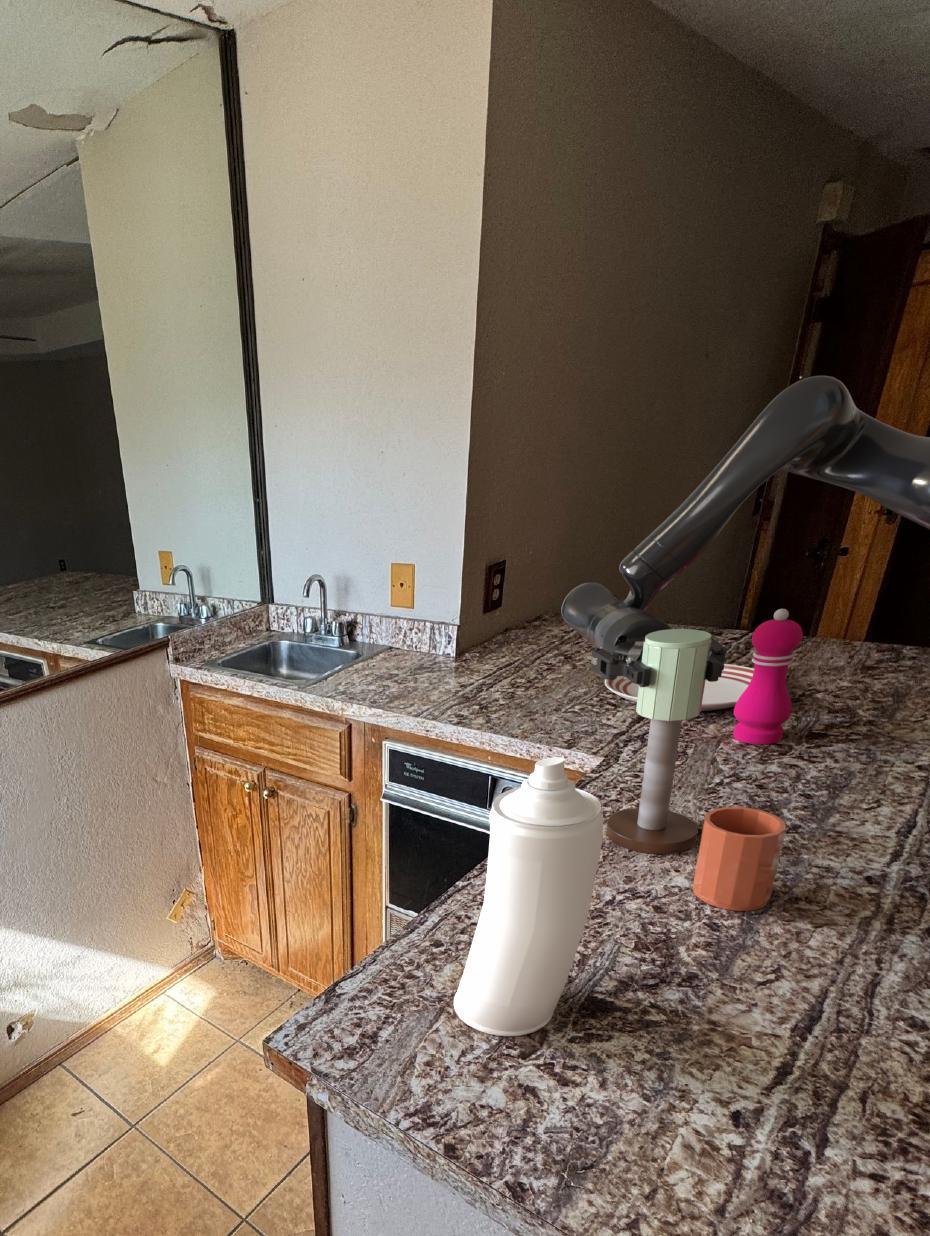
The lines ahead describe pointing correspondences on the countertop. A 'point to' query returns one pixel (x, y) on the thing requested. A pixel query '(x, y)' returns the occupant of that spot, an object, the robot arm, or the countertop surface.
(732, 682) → the dinner plate
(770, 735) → the pepper mill
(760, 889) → the cup
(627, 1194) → the countertop surface
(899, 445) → the robot arm
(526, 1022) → the spray can
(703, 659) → the cup
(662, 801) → the towel holder
